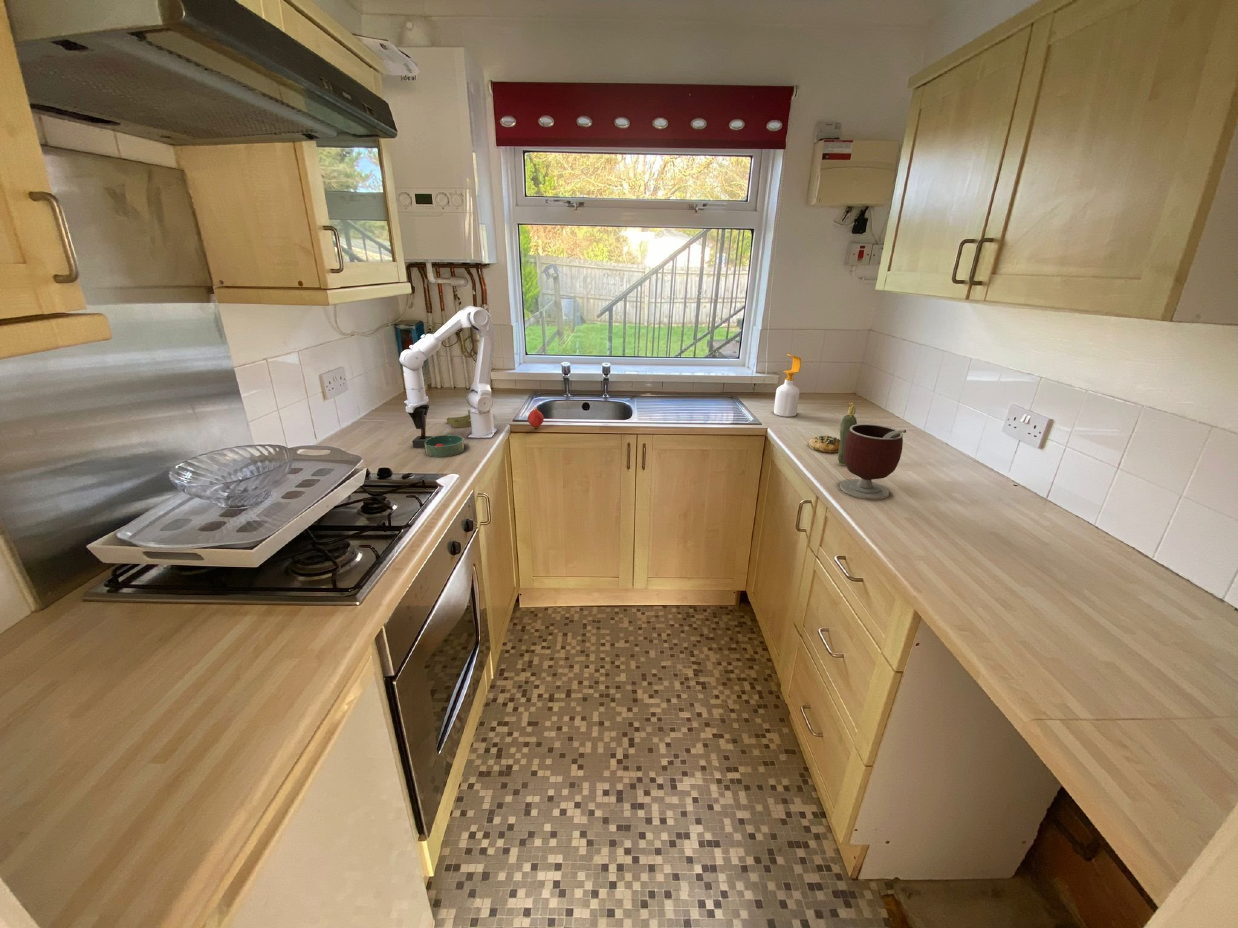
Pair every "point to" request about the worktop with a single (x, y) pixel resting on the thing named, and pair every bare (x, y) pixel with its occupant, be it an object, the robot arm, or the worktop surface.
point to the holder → (419, 442)
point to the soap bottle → (788, 392)
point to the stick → (423, 429)
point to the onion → (535, 418)
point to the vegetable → (846, 430)
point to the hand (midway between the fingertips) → (420, 427)
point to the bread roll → (825, 444)
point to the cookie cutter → (460, 421)
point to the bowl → (444, 445)
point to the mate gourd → (871, 458)
